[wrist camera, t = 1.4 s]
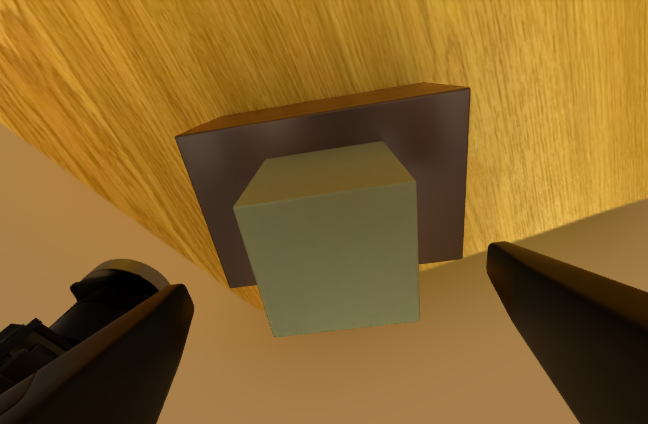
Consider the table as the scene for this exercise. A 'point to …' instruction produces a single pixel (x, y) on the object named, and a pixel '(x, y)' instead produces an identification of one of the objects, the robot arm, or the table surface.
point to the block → (333, 239)
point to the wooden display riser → (334, 132)
